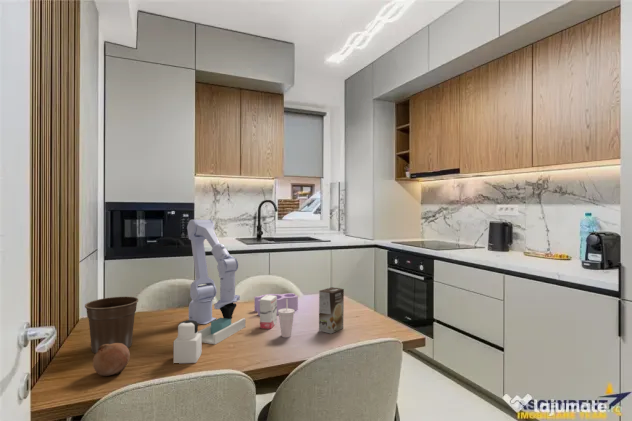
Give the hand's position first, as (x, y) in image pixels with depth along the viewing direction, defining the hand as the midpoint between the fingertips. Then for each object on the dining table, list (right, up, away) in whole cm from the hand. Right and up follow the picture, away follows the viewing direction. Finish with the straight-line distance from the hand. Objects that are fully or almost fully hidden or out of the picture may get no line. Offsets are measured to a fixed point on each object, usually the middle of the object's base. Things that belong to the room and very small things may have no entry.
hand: (227, 322), depth 139 cm
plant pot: (-36, -4, -17) cm, 40 cm away
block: (-1, -2, -4) cm, 5 cm away
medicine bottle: (-6, -4, -26) cm, 27 cm away
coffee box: (+41, -4, +2) cm, 42 cm away
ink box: (+15, -4, +7) cm, 17 cm away
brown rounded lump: (-25, -4, -36) cm, 44 cm away
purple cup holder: (+16, -4, +28) cm, 33 cm away
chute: (-1, -3, -3) cm, 5 cm away
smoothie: (+24, -4, -5) cm, 25 cm away
